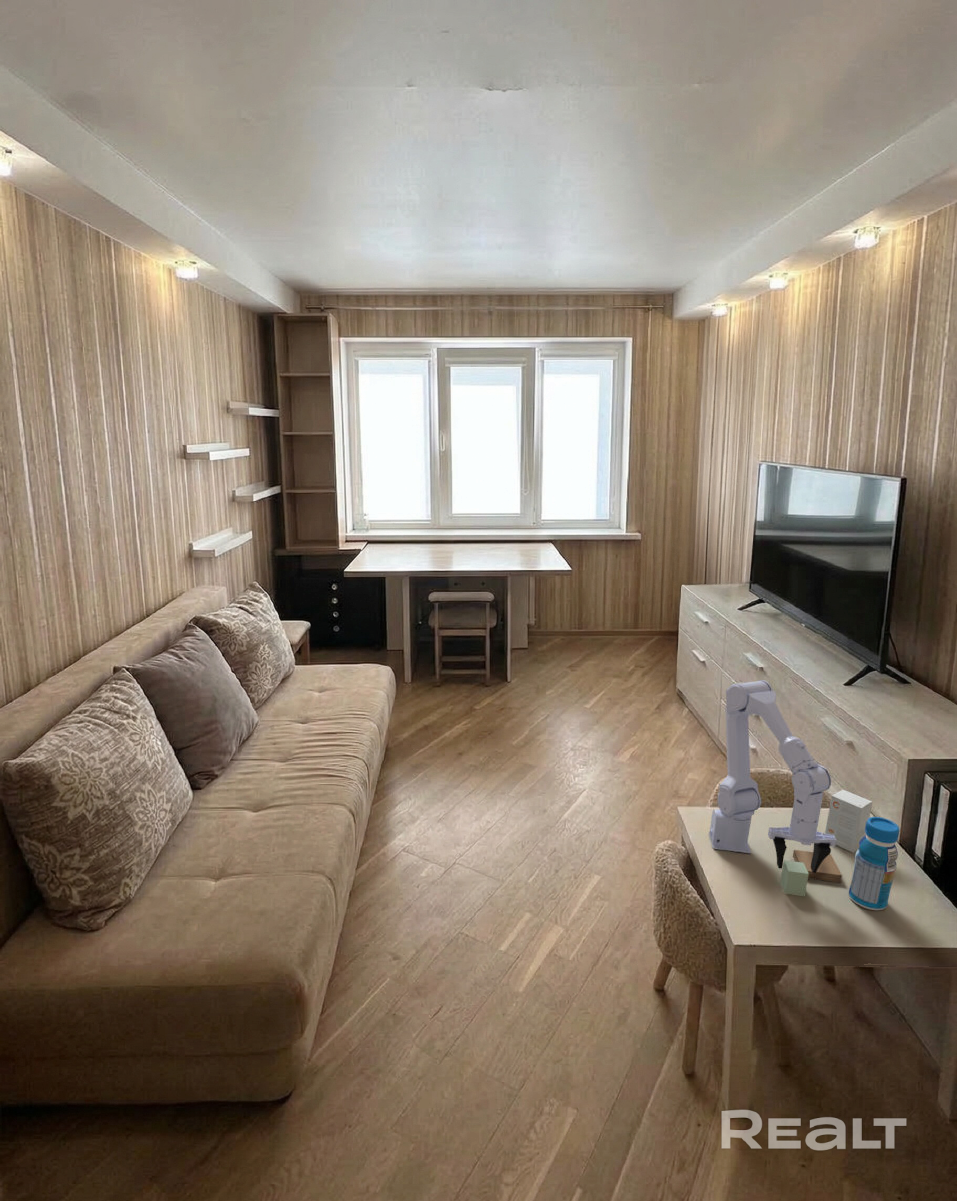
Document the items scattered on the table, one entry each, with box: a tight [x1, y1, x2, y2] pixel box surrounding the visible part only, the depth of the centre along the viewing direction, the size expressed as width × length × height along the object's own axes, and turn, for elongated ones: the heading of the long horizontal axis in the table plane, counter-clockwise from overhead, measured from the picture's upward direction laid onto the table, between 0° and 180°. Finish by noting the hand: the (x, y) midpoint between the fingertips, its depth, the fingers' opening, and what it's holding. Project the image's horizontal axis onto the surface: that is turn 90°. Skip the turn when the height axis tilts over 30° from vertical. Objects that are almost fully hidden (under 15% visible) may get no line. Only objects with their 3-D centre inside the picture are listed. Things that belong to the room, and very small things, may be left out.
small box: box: [824, 789, 873, 853], centre depth 200 cm, size 8×6×13 cm
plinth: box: [792, 849, 843, 883], centre depth 188 cm, size 9×9×2 cm
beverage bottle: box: [848, 816, 900, 911], centre depth 175 cm, size 8×8×20 cm
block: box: [779, 859, 809, 897], centre depth 179 cm, size 4×4×6 cm
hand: (796, 868), depth 179 cm, fingers open, 7 cm apart
